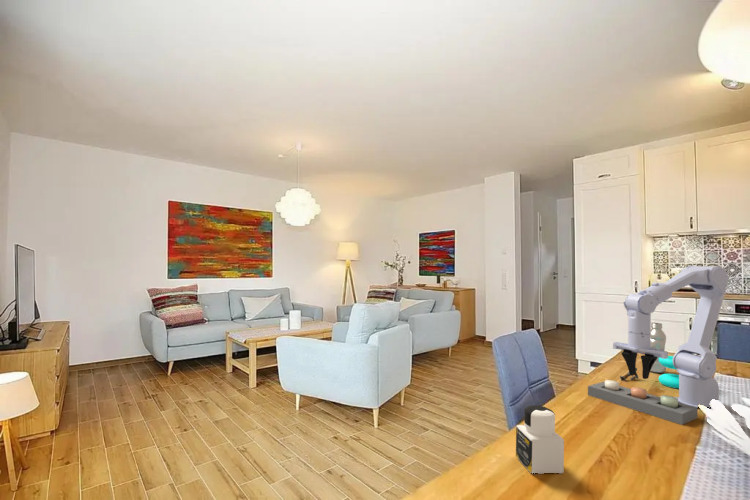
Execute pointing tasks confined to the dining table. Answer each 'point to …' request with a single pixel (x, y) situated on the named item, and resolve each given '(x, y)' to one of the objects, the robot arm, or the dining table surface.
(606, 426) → the dining table surface
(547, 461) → the medicine bottle
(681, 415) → the button panel
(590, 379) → the dining table surface
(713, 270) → the robot arm
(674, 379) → the donuts
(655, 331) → the plastic bottle
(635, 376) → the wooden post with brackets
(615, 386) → the button cream
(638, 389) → the button terracotta
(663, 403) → the button sage
